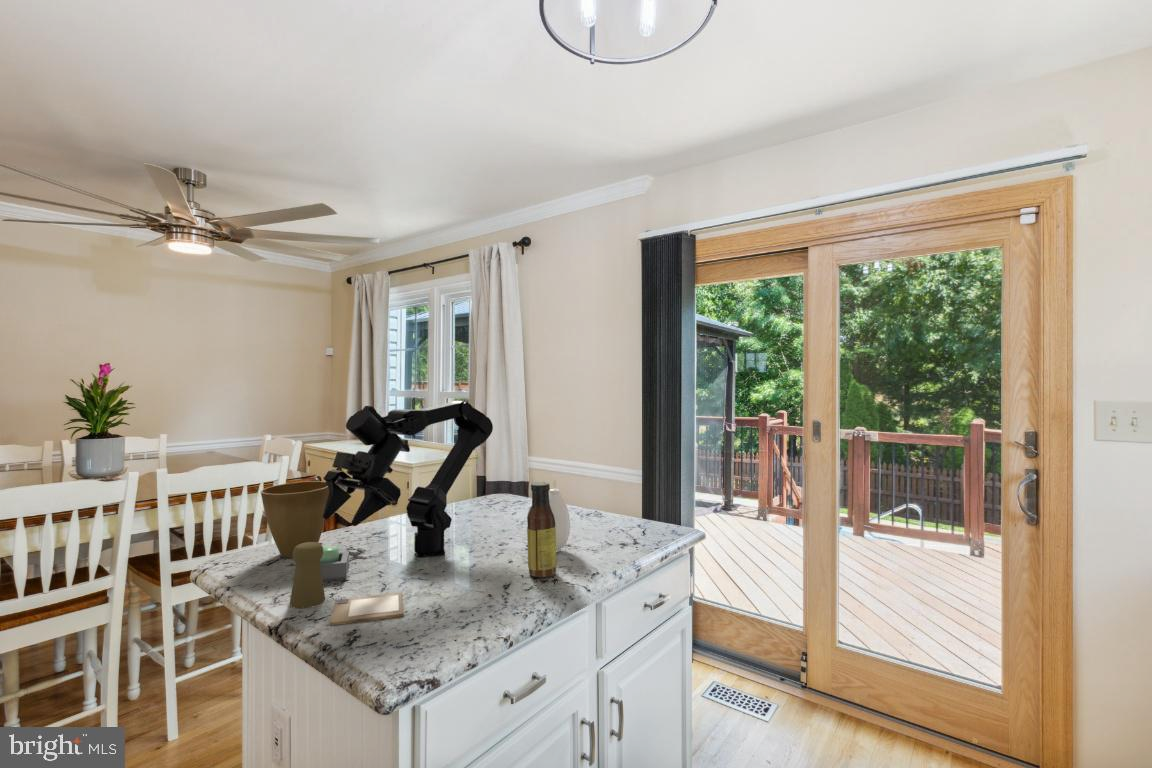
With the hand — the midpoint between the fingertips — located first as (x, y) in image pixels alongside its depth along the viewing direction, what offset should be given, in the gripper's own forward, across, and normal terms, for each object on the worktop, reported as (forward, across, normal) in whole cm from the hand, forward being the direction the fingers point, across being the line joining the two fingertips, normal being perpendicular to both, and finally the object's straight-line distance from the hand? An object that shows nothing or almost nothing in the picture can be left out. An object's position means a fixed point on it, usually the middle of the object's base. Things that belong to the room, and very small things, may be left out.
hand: (338, 521), depth 109 cm
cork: (+15, +2, +2) cm, 16 cm away
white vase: (-17, +25, +41) cm, 51 cm away
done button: (+6, -7, +9) cm, 13 cm away
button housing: (+8, -7, +10) cm, 15 cm away
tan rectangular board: (+12, +15, +5) cm, 20 cm away
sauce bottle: (-8, +31, +30) cm, 44 cm away
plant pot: (+5, -26, +14) cm, 30 cm away
